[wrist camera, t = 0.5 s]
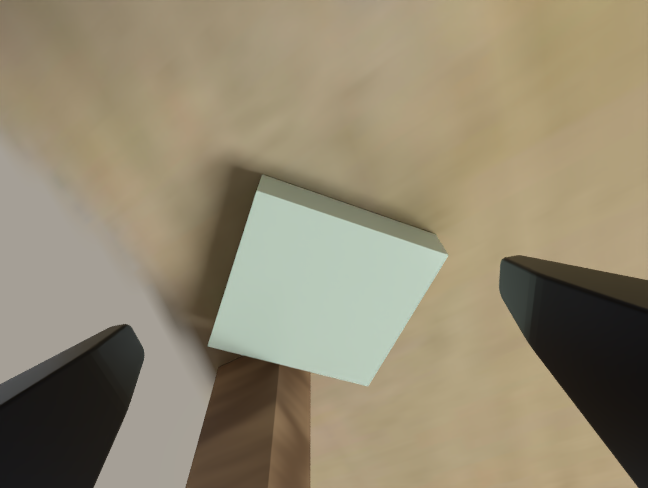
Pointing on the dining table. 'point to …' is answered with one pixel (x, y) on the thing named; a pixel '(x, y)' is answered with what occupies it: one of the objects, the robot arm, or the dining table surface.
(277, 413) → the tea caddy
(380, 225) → the plate
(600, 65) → the dining table surface
